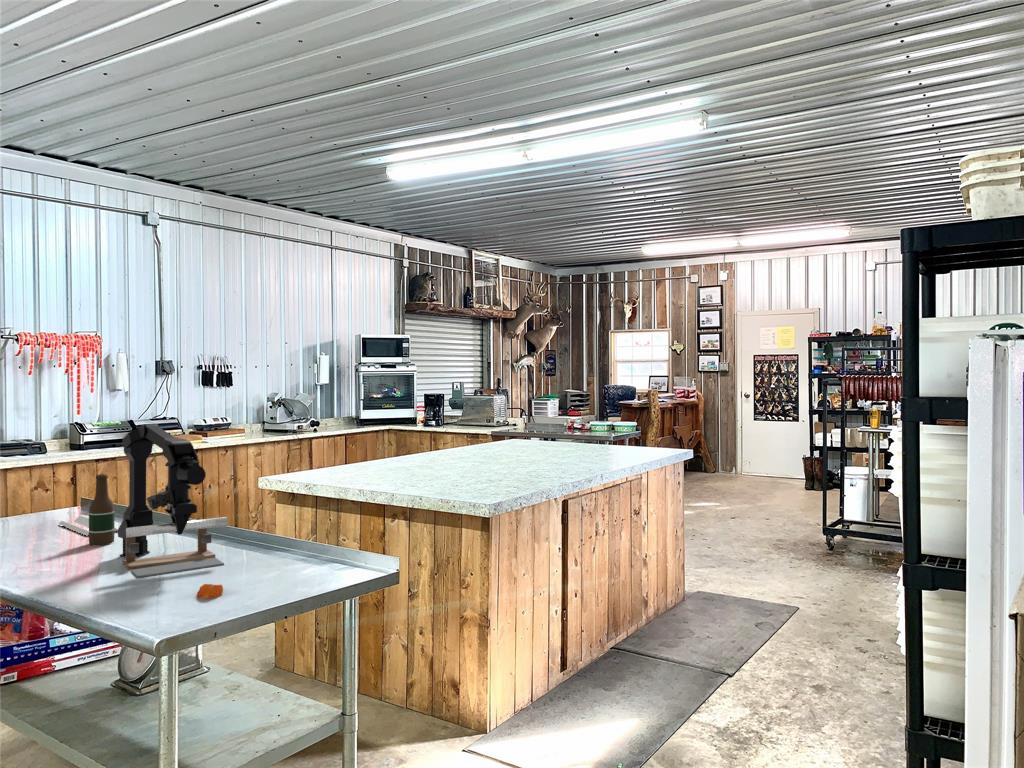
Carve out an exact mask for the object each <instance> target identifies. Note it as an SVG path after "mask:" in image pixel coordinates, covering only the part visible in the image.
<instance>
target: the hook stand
mask: <svg viewBox="0 0 1024 768" xmlns="http://www.w3.org/2000/svg"><path fill="white" fill-rule="evenodd" d="M207 544H212V534H211V533H208V528H204V529H197V550H195V551H194V550H193V551H187V552H185V551H184V552H180V553H172V554H165V555H157V556H149V557H142V558H136V557H135V553H139V543H135V537H129V538H127V537H126V557H125V560H122V563H121V565H122V566H123V565H124V566H125V567H124V566H123V567H124V568H125V569H126V570H127V571H131V570H134V569H141V568H148V567H154V566H161V565H168V564H175V563H182V562H189V561H196V560H203V559H210V558H216V554H215V553H214V552H212V551H210V550H209V549H208V548H207V546H208V545H207Z"/></svg>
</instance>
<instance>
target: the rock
mask: <svg viewBox="0 0 1024 768" xmlns="http://www.w3.org/2000/svg"><path fill="white" fill-rule="evenodd" d="M223 592H224V586H223V584H213V583H204V584H202V585H201V586H200V587H199V589H198V591H197V593H196V597H198V598H201V599H202V598H203V599H202V600H211V599H214V598H218V597H221V596H222V595H223Z"/></svg>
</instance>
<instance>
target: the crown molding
mask: <svg viewBox="0 0 1024 768" xmlns="http://www.w3.org/2000/svg"><path fill="white" fill-rule="evenodd" d="M73 522H75V523H78V524H80V525H82V526H85V527H87V528H89V516H87V515H84V514H80V515H79V516H77V518H75V520H74V521H73ZM58 524H60V525H63V526H65V527H67V528H70V529H72V530H74V531H76V532H75V533H77V532H79V533H81V534H80V535H82V534H83V535H82V536H84V535H86V536H85V537H89V536H88V535H89V531H87V530H84V529H82V528H79V527H77V526H74V525H71V524H70V523H69V522H67V521H63V520H61V521H60V522H59V523H58ZM67 528H66V529H67ZM72 530H71V531H72ZM117 530H118V528H116V527H115V526H114V533H117V532H116V531H117ZM74 531H73V532H74ZM79 533H78V534H79Z"/></svg>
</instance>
